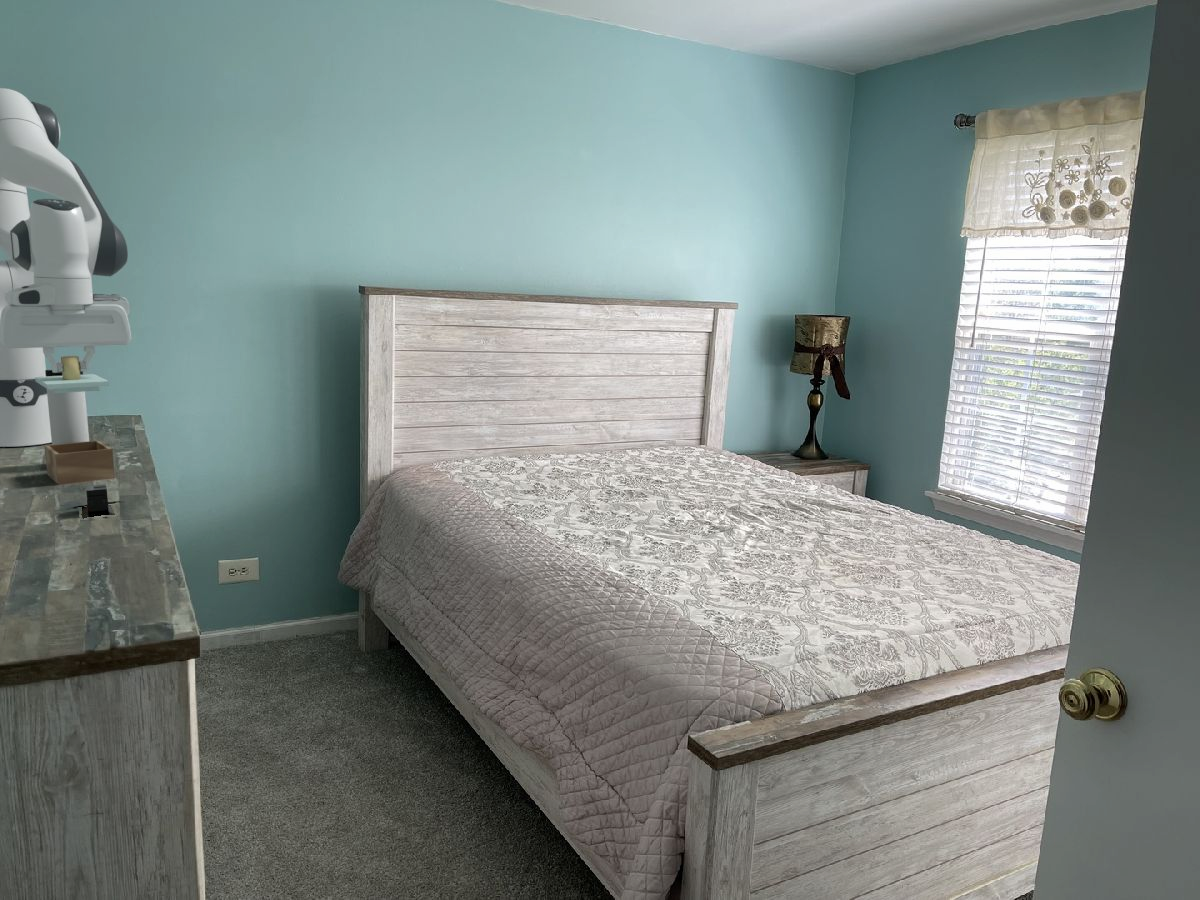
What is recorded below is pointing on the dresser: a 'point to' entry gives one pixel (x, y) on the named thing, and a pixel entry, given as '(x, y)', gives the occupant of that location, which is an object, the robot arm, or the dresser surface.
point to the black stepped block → (96, 502)
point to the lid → (72, 378)
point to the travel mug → (67, 415)
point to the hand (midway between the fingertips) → (71, 371)
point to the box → (79, 462)
